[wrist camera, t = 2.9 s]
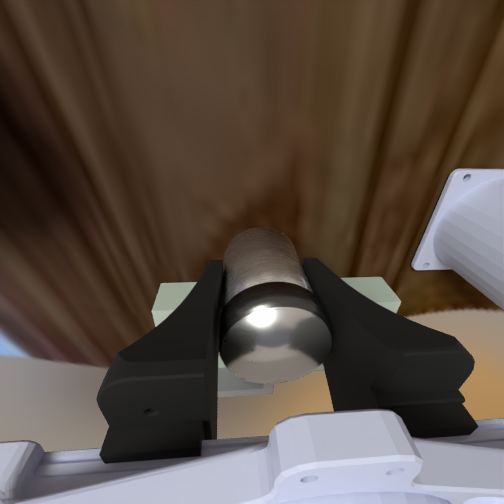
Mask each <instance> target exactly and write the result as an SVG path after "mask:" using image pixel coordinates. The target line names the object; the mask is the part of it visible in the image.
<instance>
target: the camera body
mask: <svg viewBox="0 0 504 504" xmlns="http://www.w3.org/2000/svg"><path fill="white" fill-rule="evenodd" d="M341 279H342V280H343V281H345V282H346V283H347V284H348V285H350V286H351V287H353V288H354V289H355V290H357V291H358V292H360V293H361V294H363V295H364V296H366V297H367V298H369V299H371V300H372V301H374V302H376V303H377V304H379V305H381V306H383V307H385V308H386V309H388V310H390V311H392V312H394V313H396V312H397V310H398V308H399V306H400V303H401V301H400V299H399V298H398V297H397V296H396V294H395V293H394V292H393V291H392V290H391V288H390V287H389V286H388V285H387V284H386V282H385V281H384V280H383V279H382V277H358V278H341ZM196 283H197V282H186V283H161V285H160V288H159V291H158V294H157V297H156V300H155V303H154V306H153V309H152V314H153V318H154V322H155V326H158V325H159V324H160V323H161V322H162V321H163V320H165V319H166V318H167V317H168V316H169V315H170V314H171V313H172V312H173V311H174V310H175V309H176V308H177V307H178V306H179V305H180V304H181V302H182V301H183V300H184V299H185V298H186V296H187V295H188V294H189V293H190V291H191V290H192V289H193V287H194V286H195V284H196ZM320 370H324V366H323V363H322V364H321V365H320V366H319V367H317V368H316V369H315V370H313V371H320ZM273 388H274V384H262V383H254V382H250V381H246V380H243V379H241V378H239V377H237V376H235V375H234V374H232V373H231V372H230V371H229V370H228V369H227V368H226V366H225V365H224V363H223V361H222V360H221V357H220V355H219V356H218V397H229V396H245V395H260V394H273Z"/></svg>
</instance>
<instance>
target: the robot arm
mask: <svg viewBox="0 0 504 504" xmlns="http://www.w3.org/2000/svg"><path fill="white" fill-rule="evenodd" d="M465 175H466V177H465V178H464V176H465ZM463 178H464V179H463ZM411 266H412V267H413V268H414V269H415V270H447V269H452V270H454V271H455V272H456V273H457V274H459V275H460V276H461V277H463V278H464V279H465V280H466V281H468V282H469V283H470V284H471V285H473V286H474V287H475V288H476V289H478V290H479V291H480V292H481V293H483V294H484V295H485V296H486V297H488V298H489V299H490V300H491V301H493V302H494V303H495V304H496V305H498V306H499V307H500V308H501V309H503V310H504V169H456V170H454V171H453V172H452V173H451V174H450V176H449V178H448V180H447V182H446V185H445V187H444V189H443V192H442V194H441V196H440V198H439V201H438V203H437V205H436V208H435V210H434V212H433V215H432V217H431V219H430V222H429V224H428V226H427V229H426V231H425V233H424V236H423V238H422V240H421V243H420V245H419V247H418V250H417V252H416V254H415V257H414V259H413V261H412V264H411ZM303 270H304V272H305V274H306V277H307V279H308V282H309V284H310V286H311V289H312V291H313V294H314V295H315V296H316V297H317V299H318V300H319V302H320V304H321V306H322V308H323V311H324V313H325V315H326V318H327V320H328V322H329V325H330V327H331V329H332V334H333V340H332V346H331V350H330V353H329V355H328V356H327V358H326V359H325V361H324V362H323V366H324V370H325V374H326V378H327V382H328V386H329V390H330V395H331V400H332V404H333V409H334V412H322V413H306V414H300V415H295V416H291V417H288V418H286V419H284V420H282V421H280V422H278V423H277V424H276V425H275V427H274V428H273V430H272V432H271V433H270V435H269V436H258V437H245V438H231V439H217V399H218V356H219V326H220V316H221V313H222V309H223V260H210V261H209V262H208V264H207V266H206V268H205V270H204V272H203V273H202V275H201V277H200V278H199V280H198V281H197V283H196V284H195V286H194V287H193V289H192V290H191V291H190V293H189V294H188V295H187V296H186V298H185V299H184V300H183V301H182V302H181V304H180V305H179V306H178V307H177V308H176V309H175V310H174V311H173V312H172V313H171V314H170V315H169V316H168V317H167V318H166V319H165V320H163V321H162V322H161V323H160V324H159V325H158V326H156V327H155V328H154V329H153V330H151V331H150V332H149V333H147V334H146V335H145V336H143V337H142V338H140V339H139V340H137V341H136V342H134V343H133V344H131V345H130V346H128V347H127V348H125V349H123V350H122V351H120V352H118V354H117V355H116V357H115V359H114V361H113V362H112V364H111V366H110V367H109V369H108V371H107V373H106V376H105V378H104V380H103V383H102V385H101V387H100V390H99V392H98V395H97V403H98V406H99V408H100V410H101V411H102V413H103V415H104V417H105V419H106V421H107V423H108V425H109V429H108V431H107V434H106V437H105V440H104V443H103V445H102V448H95V449H82V450H68V451H55V452H44V450H43V448H42V447H41V445H40V444H38V443H36V442H34V441H28V440H27V441H26V440H22V441H7V442H0V504H504V418H500V419H487V420H474V419H473V418H472V416H471V415H470V414H469V412H468V411H467V410H466V408H465V407H464V406H463V404H462V403H464V402H465V398H464V396H463V395H462V394H461V393H460V391H459V390H458V389H459V388H460V387H461V386H462V384H463V383H464V382H465V380H466V379H467V378H468V377H469V376H470V374H471V372H472V371H473V369H474V363H475V361H474V359H473V357H472V355H471V354H470V353H469V352H468V351H467V350H466V349H465V348H464V347H463V345H462V344H461V343H460V342H459V341H458V340H457V339H456V338H455V337H453V336H451V335H448V334H445V333H443V332H440V331H437V330H434V329H431V328H428V327H426V326H423V325H421V324H419V323H416V322H413V321H411V320H409V319H407V318H405V317H403V316H400V315H398V314H396V313H394V312H392V311H390V310H388V309H386V308H385V307H383V306H381V305H379V304H377V303H376V302H374V301H372V300H371V299H369V298H367V297H366V296H364V295H363V294H361V293H360V292H358V291H357V290H355V289H354V288H353V287H351V286H350V285H348V284H347V283H346V282H345V281H343V280H342V279H341V278H339V277H338V276H337V275H336V274H335V273H333V272H332V271H331V270H330V269H329V268H327V267H326V266H325V265H324V264H323V263H321V262H320V261H319V260H318V259H316V258H304V262H303Z"/></svg>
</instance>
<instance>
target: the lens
mask: <svg viewBox="0 0 504 504" xmlns="http://www.w3.org/2000/svg"><path fill="white" fill-rule="evenodd" d="M332 340H333V334H332V329H331V327H330V325H329V322H328V320H327V318H326V315H325V313H324V311H323V308H322V306H321V304H320V302H319V300H318V299H317V297H316V296H315V295H314V294H313V291H312V289H311V286H310V284H309V282H308V279H307V277H306V274H305V272H304V270H303V267H302V265H301V262H300V260H299V258H298V255H297V253H296V250H295V248H294V246H293V243H292V242H291V240H290V239H289V238H288V237H287V236H286V235H285V234H283V233H282V232H280V231H278V230H276V229H272V228H267V227H257V228H252V229H248V230H246V231H243V232H241V233H240V234H238V235H237V236H236V237H234V238H233V239H232V240H231V242H230V243H229V244H228V246H227V248H226V250H225V254H224V273H223V309H222V313H221V316H220V326H219V355H220V357H221V360H222V361H223V363H224V365H225V366H226V368H227V369H228V370H229V371H230V372H231V373H232V374H234V375H235V376H237V377H239V378H241V379H243V380H246V381H250V382H254V383H262V384H274V383H282V382H288V381H292V380H295V379H298V378H300V377H303V376H304V375H307V374H309V373H310V372H312V371H313V370H315V369H316V368H317V367H319V366H320V365H321V364H322V363H323V362H324V361H325V359H326V358H327V356H328V355H329V353H330V350H331V346H332Z"/></svg>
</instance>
